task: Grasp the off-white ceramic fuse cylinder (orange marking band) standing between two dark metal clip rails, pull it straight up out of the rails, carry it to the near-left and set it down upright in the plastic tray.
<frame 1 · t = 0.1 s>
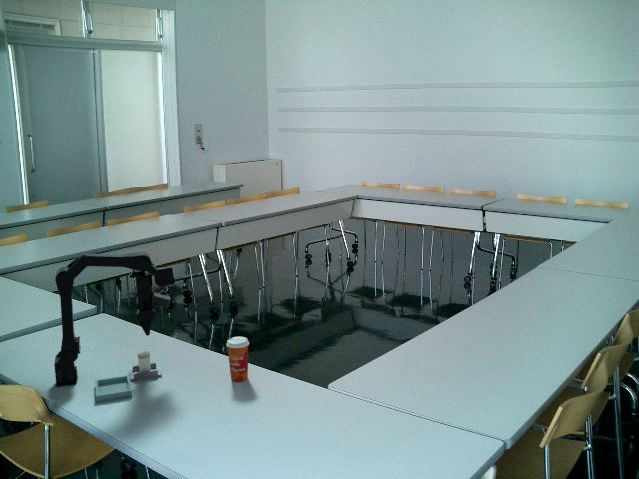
hand: (147, 331, 227), 14 cm above the table, fingers open, 9 cm apart
tray: (113, 391, 213), on the table
clip rails: (145, 374, 226), on the table
fuse: (145, 374, 226), resting in clip rails
paper cup: (239, 379, 221), on the table
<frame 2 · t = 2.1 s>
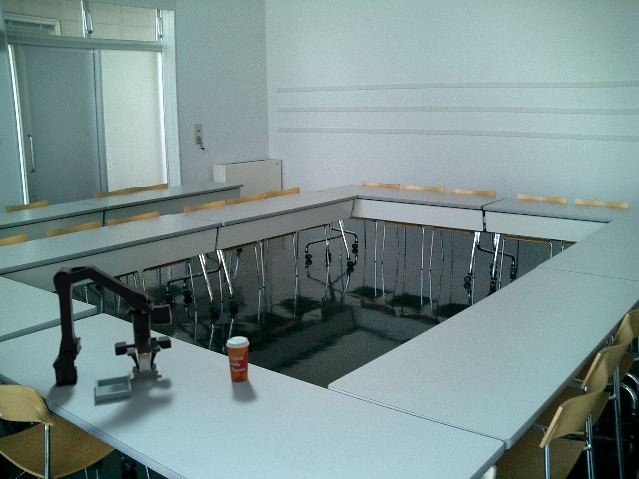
hand: (144, 368, 226), 2 cm above the table, fingers closed on fuse, 4 cm apart
fuse: (145, 374, 226), resting in clip rails, touching gripper
everything else where it was.
when the fingers open (4 cm above the table, at t = 6.2 s): fuse drops 1 cm, resting on tray.
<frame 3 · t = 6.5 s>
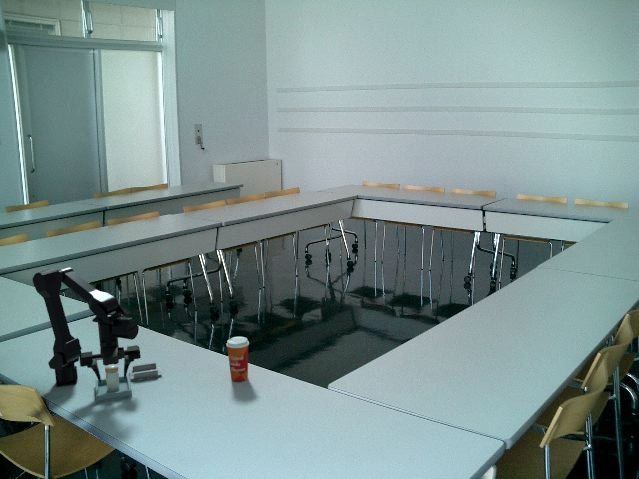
hand: (112, 380, 213), 4 cm above the table, fingers open, 7 cm apart
fuse: (113, 389, 213), point 1 cm above the table, touching tray
everything else where it was.
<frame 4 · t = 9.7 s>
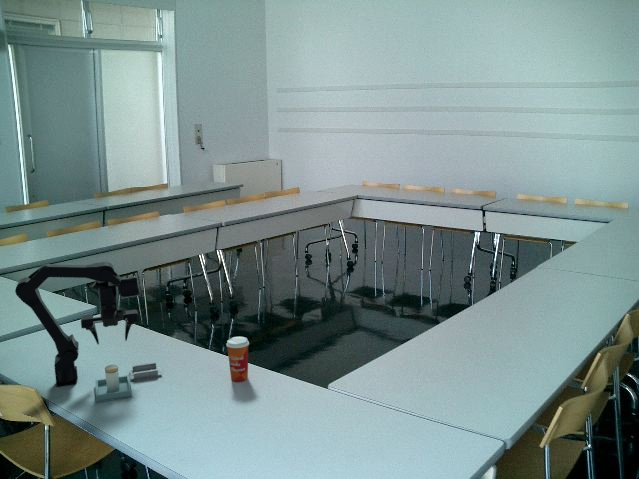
hand: (112, 342, 224), 12 cm above the table, fingers open, 9 cm apart
nothing on the table moved.
at the end: fuse inside the target area on the tray (0.0 cm from its centre), point 0.6 cm above the tray's base; fuse tilted 0°; the gripper is holding nothing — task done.
